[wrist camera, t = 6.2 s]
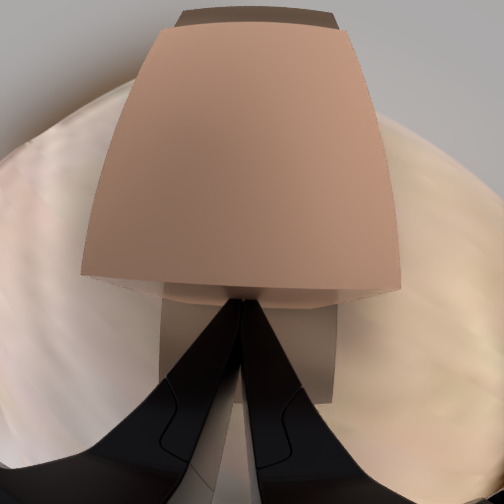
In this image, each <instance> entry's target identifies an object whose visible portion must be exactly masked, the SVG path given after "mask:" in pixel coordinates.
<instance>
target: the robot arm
mask: <svg viewBox="0 0 504 504" xmlns="http://www.w3.org/2000/svg"><path fill="white" fill-rule="evenodd" d="M240 365H241V385H242V398H243V411H244V423H245V435H246V446H247V457H248V468H249V478H250V488H251V498H252V504H417V503H415V502H413V501H411V500H409V499H407V498H405V497H403V496H401V495H399V494H397V493H396V492H394V491H392V490H390V489H388V488H387V487H385V486H383V485H381V484H380V483H378V482H377V481H375V480H374V479H372V478H371V477H370V476H369V475H368V474H366V473H365V472H364V471H363V470H362V469H361V467H360V466H359V465H358V464H357V463H356V462H355V460H354V459H353V458H352V457H351V455H350V454H349V453H348V451H347V450H346V449H345V448H344V446H343V445H342V444H341V443H340V441H339V440H338V439H337V437H336V436H335V435H334V433H333V432H332V431H331V430H330V428H329V427H328V425H327V424H326V423H325V421H324V420H323V418H322V417H321V415H320V414H319V412H318V411H317V409H316V407H315V406H314V404H313V402H312V401H311V399H310V397H309V395H308V393H307V392H306V390H305V388H304V387H303V384H302V383H301V381H300V379H299V377H298V375H297V373H296V371H295V370H294V368H293V366H292V364H291V362H290V360H289V358H288V356H287V355H286V353H285V351H284V349H283V347H282V345H281V343H280V341H279V339H278V338H277V336H276V334H275V332H274V330H273V328H272V326H271V324H270V322H269V320H268V319H267V317H266V315H265V313H264V311H263V309H262V307H261V305H260V303H259V301H258V300H247V299H245V300H244V301H243V300H242V299H228V300H227V302H226V303H225V304H224V305H223V307H222V308H221V309H220V310H219V311H218V313H217V314H216V315H215V316H214V318H213V319H212V320H211V321H210V322H209V324H208V325H207V326H206V327H205V329H204V330H203V331H202V332H201V333H200V335H199V336H198V337H197V338H196V339H195V341H194V342H193V343H192V344H191V346H190V347H189V348H188V349H187V350H186V352H185V353H184V354H183V355H182V356H181V358H180V359H179V360H178V361H177V362H176V364H175V365H174V366H173V367H172V368H171V370H170V371H169V372H168V373H167V375H166V376H165V377H166V378H163V379H162V380H161V381H160V383H159V384H158V385H157V386H156V388H155V389H154V390H153V391H152V392H151V393H150V394H149V395H148V396H147V398H146V399H145V400H144V401H143V402H142V403H141V404H140V405H139V406H138V407H137V408H136V409H135V410H134V411H132V412H131V413H130V414H129V415H128V416H127V417H126V418H125V419H124V420H123V421H122V422H120V423H119V424H118V425H117V426H116V427H115V428H114V429H113V430H111V431H110V432H109V433H108V434H107V435H106V436H105V437H103V438H102V439H101V440H100V441H99V442H98V443H96V444H95V445H94V446H92V447H91V448H89V449H87V450H85V451H83V452H81V453H79V454H76V455H73V456H69V457H66V458H62V459H58V460H54V461H50V462H46V463H42V464H37V465H33V466H28V467H23V468H16V469H11V468H9V467H7V466H6V465H4V464H2V463H1V462H0V504H211V503H212V498H213V494H214V493H213V492H214V489H215V485H216V480H217V476H218V471H219V467H220V462H221V458H222V453H223V448H224V444H225V439H226V435H227V430H228V425H229V421H230V416H231V411H232V406H233V402H234V397H235V392H236V387H237V383H238V378H239V372H240ZM464 504H504V488H503V489H501V490H499V491H497V492H496V493H494V494H492V495H490V496H489V497H487V498H478V499H475V500H472V501H469V502H467V503H464Z"/></svg>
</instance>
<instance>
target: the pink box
mask: <svg viewBox="0 0 504 504" xmlns="http://www.w3.org/2000/svg"><path fill="white" fill-rule="evenodd" d="M81 275H83V276H86V277H90V278H93V279H96V280H100V281H103V282H107V283H110V284H114V285H117V286H121V287H124V288H128V289H132V290H135V291H139V292H143V293H147V294H151V295H154V296H158V297H162V298H166V299H171V300H175V301H179V302H183V303H187V304H200V305H216V306H223V305H224V304H225V303H226V302H227V300H228V299H242V300H243V301H244V300H245V299H247V300H258V301H259V303H260V305H261V307H262V308H286V309H312V308H318V307H323V306H328V305H333V304H338V303H343V302H348V301H352V300H357V299H361V298H366V297H370V296H375V295H379V294H383V293H387V292H392V291H396V290H400V289H401V272H400V256H399V243H398V233H397V224H396V215H395V208H394V201H393V194H392V188H391V182H390V176H389V171H388V166H387V161H386V156H385V151H384V147H383V142H382V138H381V134H380V130H379V126H378V122H377V118H376V115H375V111H374V108H373V104H372V101H371V97H370V94H369V91H368V88H367V85H366V82H365V79H364V76H363V73H362V70H361V67H360V64H359V62H358V59H357V57H356V54H355V51H354V49H353V47H352V44H351V42H350V39H349V36H348V34H347V32H346V31H343V30H338V29H332V28H326V27H319V26H311V25H302V24H292V23H277V22H222V23H207V24H196V25H187V26H180V27H173V28H167V29H162V30H161V32H160V34H159V35H158V37H157V39H156V41H155V43H154V44H153V46H152V48H151V50H150V52H149V54H148V56H147V57H146V59H145V62H144V63H143V65H142V67H141V69H140V72H139V74H138V76H137V78H136V80H135V82H134V84H133V87H132V89H131V91H130V93H129V96H128V98H127V100H126V103H125V105H124V108H123V110H122V113H121V115H120V118H119V121H118V123H117V126H116V129H115V131H114V134H113V137H112V140H111V143H110V146H109V149H108V152H107V155H106V159H105V162H104V165H103V169H102V172H101V176H100V179H99V183H98V187H97V190H96V194H95V198H94V203H93V207H92V211H91V216H90V221H89V226H88V231H87V236H86V242H85V248H84V254H83V261H82V268H81Z"/></svg>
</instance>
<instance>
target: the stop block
mask: <svg viewBox="0 0 504 504" xmlns="http://www.w3.org/2000/svg"><path fill="white" fill-rule="evenodd" d="M222 22H277V23H292V24H302V25H311V26H319V27H326V28H332V29H338V30H339V27H338V25H337V22H336V20H335V18H334V15H333V13H328V12H322V11H315V10H306V9H298V8H286V7H267V6H235V7H215V8H203V9H194V10H186V11H183V12H182V14H181V16H180V18H179V19H178V21H177V23H176V24H175V26H174V27H180V26H187V25H196V24H207V23H222ZM222 307H223V306H216V305H200V304H187V303H183V302H179V301H175V300H171V299H166V298H162V311H161V329H160V355H159V383H160V381H161V380H162V379H163V378H166V377H165V376H166V375H167V373H168V372H169V371H170V370H171V368H172V367H173V366H174V365H175V364H176V362H177V361H178V360H179V359H180V358H181V356H182V355H183V354H184V353H185V352H186V350H187V349H188V348H189V347H190V346H191V344H192V343H193V342H194V341H195V339H196V338H197V337H198V336H199V335H200V333H201V332H202V331H203V330H204V329H205V327H206V326H207V325H208V324H209V322H210V321H211V320H212V319H213V318H214V316H215V315H216V314H217V313H218V311H219V310H220V309H221V308H222ZM262 309H263V311H264V313H265V315H266V317H267V319H268V320H269V322H270V324H271V326H272V328H273V330H274V332H275V334H276V336H277V338H278V339H279V341H280V343H281V345H282V347H283V349H284V351H285V353H286V355H287V356H288V358H289V360H290V362H291V364H292V366H293V368H294V370H295V371H296V373H297V375H298V377H299V379H300V381H301V383H302V384H303V387H304V388H305V390H306V392H307V393H308V395H309V397H310V399H311V401H312V402H313V404H322V403H332V395H333V383H334V370H335V354H336V332H337V304H333V305H328V306H323V307H318V308H312V309H286V308H262ZM233 403H243V398H242V385H241V365H240V372H239V378H238V383H237V387H236V392H235V397H234V402H233Z"/></svg>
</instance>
